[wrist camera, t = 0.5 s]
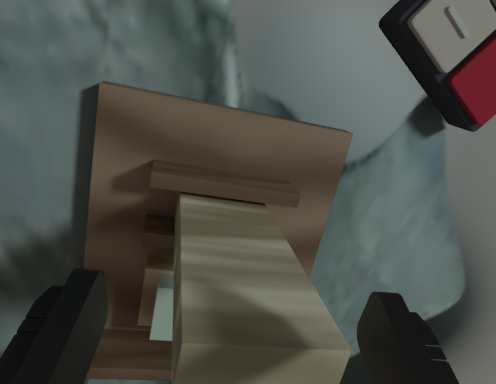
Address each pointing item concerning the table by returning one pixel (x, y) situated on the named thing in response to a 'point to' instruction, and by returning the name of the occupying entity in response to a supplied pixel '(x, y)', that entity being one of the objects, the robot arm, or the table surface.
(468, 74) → the calculator
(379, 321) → the robot arm
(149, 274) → the offcut lower
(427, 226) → the table surface
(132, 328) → the rack
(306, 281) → the beige wooden block
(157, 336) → the offcut upper
